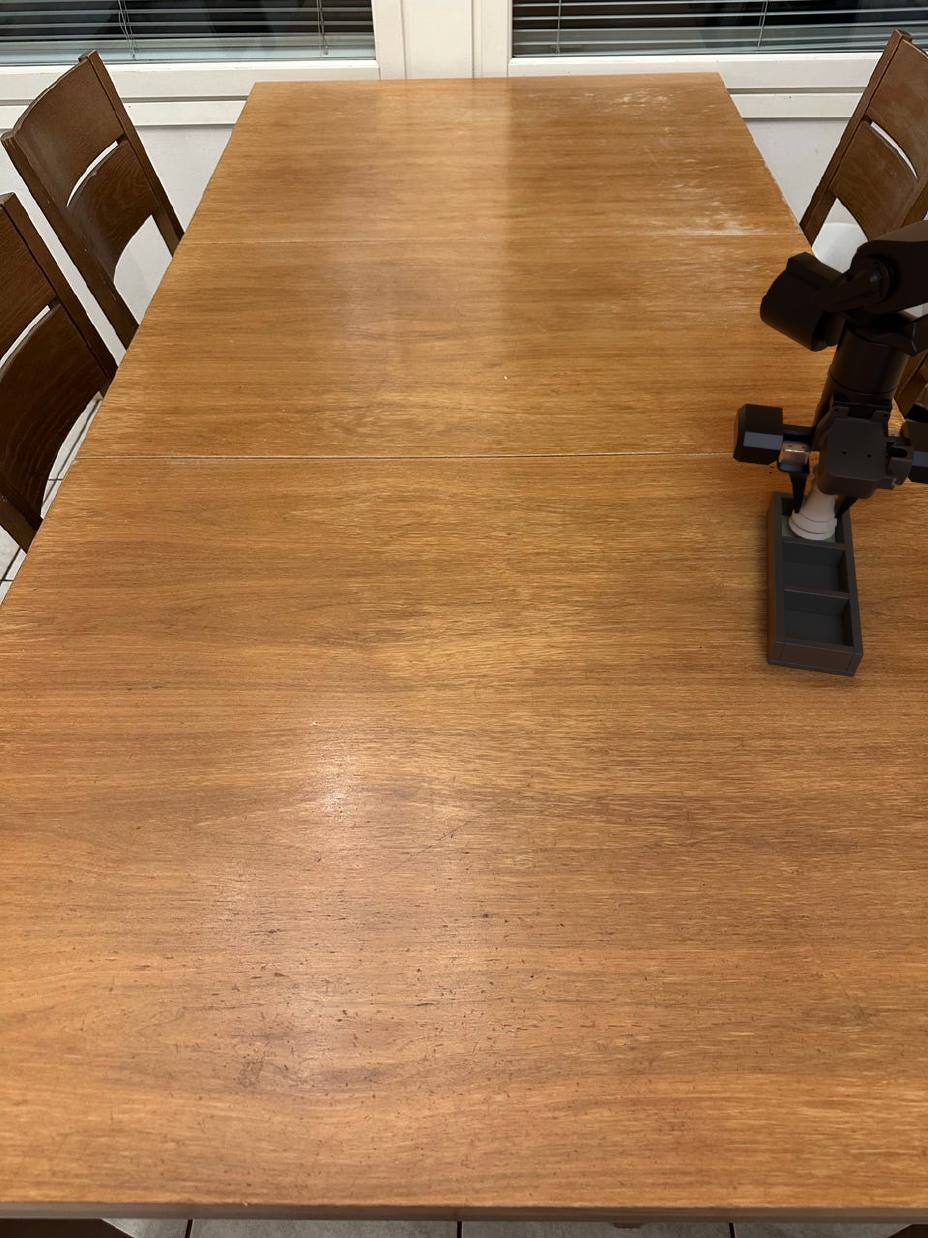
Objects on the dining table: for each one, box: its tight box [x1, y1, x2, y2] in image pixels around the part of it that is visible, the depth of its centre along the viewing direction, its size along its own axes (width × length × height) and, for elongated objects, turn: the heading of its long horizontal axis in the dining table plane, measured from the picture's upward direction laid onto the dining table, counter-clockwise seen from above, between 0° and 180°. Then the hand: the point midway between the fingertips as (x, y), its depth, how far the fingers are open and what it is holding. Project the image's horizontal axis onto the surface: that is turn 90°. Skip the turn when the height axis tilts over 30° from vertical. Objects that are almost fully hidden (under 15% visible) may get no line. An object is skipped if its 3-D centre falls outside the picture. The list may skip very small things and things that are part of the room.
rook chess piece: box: [789, 462, 837, 541], centre depth 91 cm, size 4×4×8 cm
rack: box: [765, 490, 865, 678], centre depth 90 cm, size 7×21×3 cm, turn 169°
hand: (815, 513), depth 92 cm, fingers closed on rook chess piece, 3 cm apart
